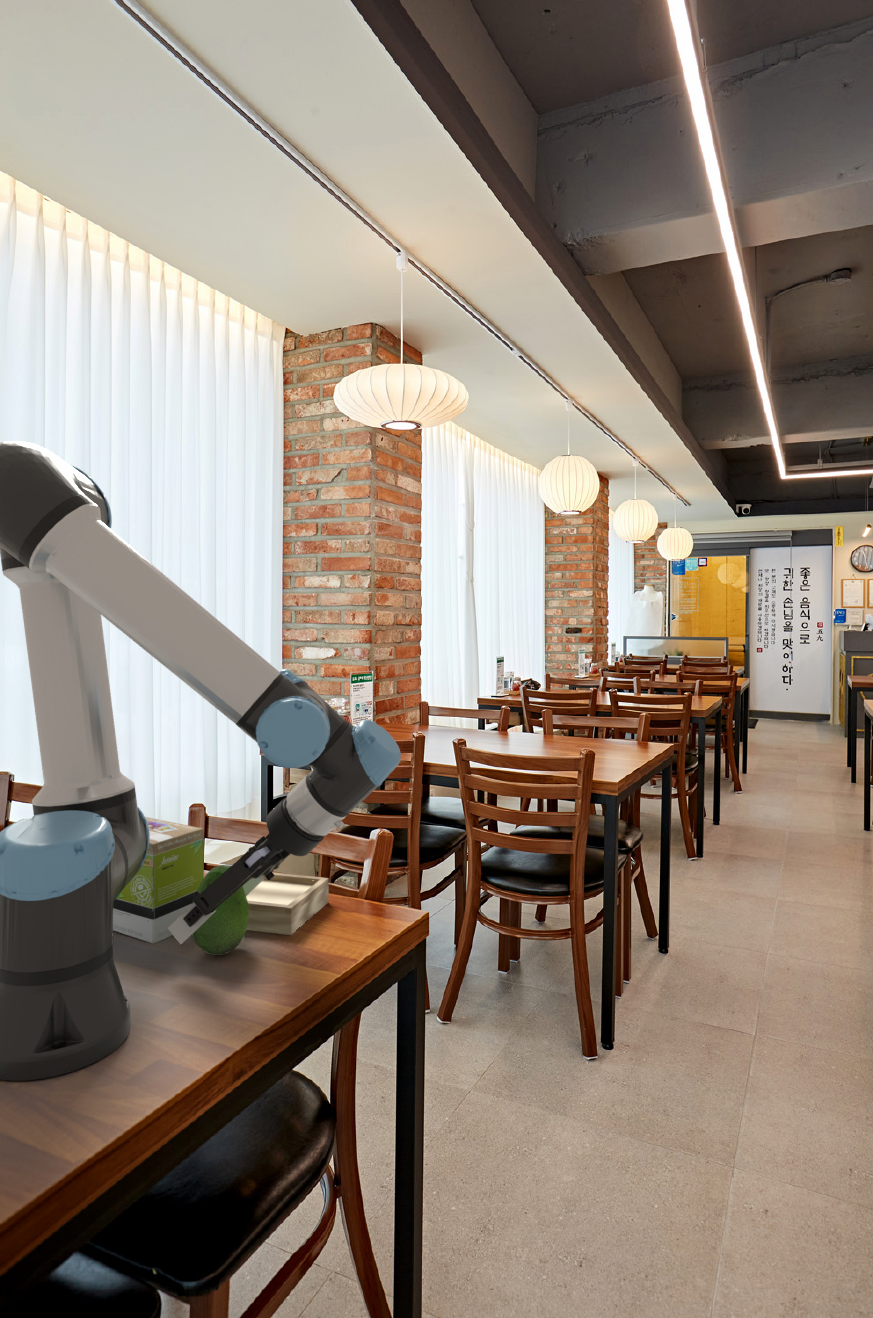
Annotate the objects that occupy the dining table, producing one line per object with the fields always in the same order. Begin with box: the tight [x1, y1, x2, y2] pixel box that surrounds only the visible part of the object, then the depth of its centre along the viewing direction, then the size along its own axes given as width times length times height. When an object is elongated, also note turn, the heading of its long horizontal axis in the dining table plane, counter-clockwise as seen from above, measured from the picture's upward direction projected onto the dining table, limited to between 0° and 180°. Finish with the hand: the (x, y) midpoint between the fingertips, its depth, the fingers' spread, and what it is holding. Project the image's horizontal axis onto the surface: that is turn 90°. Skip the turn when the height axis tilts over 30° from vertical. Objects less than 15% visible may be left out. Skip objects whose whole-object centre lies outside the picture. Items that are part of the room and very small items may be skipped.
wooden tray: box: [246, 872, 330, 936], centre depth 119 cm, size 14×14×4 cm
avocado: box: [191, 864, 249, 956], centre depth 104 cm, size 8×8×12 cm
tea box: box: [113, 816, 205, 945], centre depth 114 cm, size 15×10×15 cm
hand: (203, 917), depth 105 cm, fingers open, 12 cm apart
